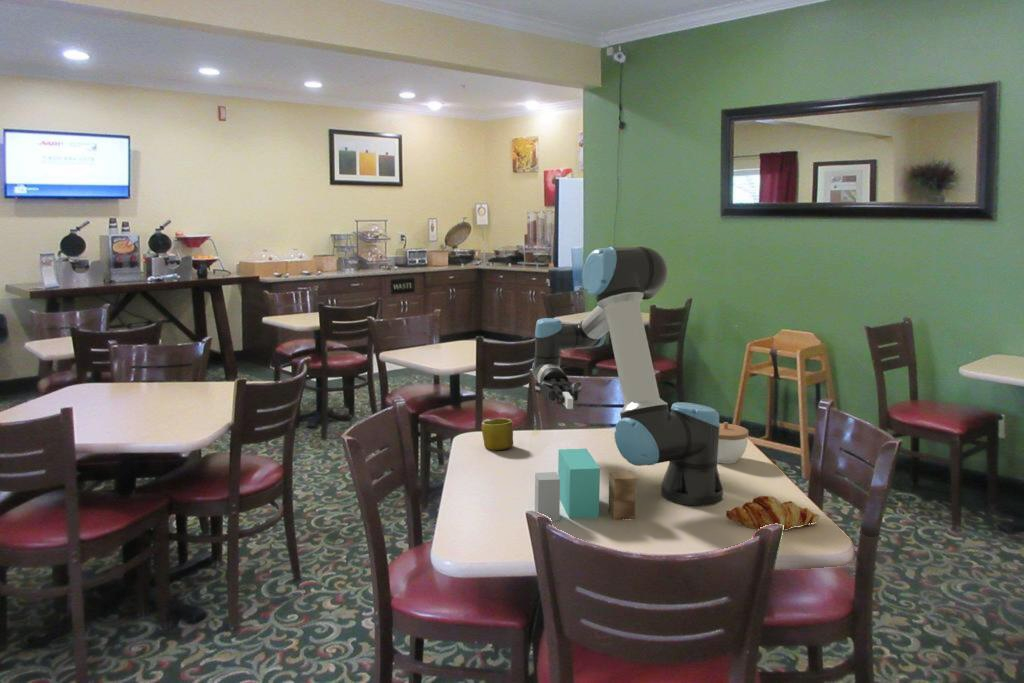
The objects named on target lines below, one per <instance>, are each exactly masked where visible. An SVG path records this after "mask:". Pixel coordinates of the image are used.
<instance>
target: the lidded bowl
mask: <svg viewBox="0 0 1024 683" xmlns="http://www.w3.org/2000/svg"><path fill="white" fill-rule="evenodd" d="M719 425H720V428H719V442H718V457H717V464H723V465H724V464H725V465H729V464H735V463H736V464H737V462H738V460H740V459H741V458H742V457H743V456H744V454H745V452H746V451H747V446H748V439H749V435H750V434H749V432H750V431H749V429H747V428H746V427H745V426H744V427H743V426H741V425H737V424H734V423H733V424H731V423H729V422H728V421H727V422H726V421H724V422H723V423H721V422H719Z"/></svg>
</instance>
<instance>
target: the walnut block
mask: <svg viewBox="0 0 1024 683" xmlns="http://www.w3.org/2000/svg"><path fill="white" fill-rule="evenodd" d="M608 473H609V477H608V479H609V480H608V507H607V508H608V511H607V512H608V514H609V515H610V517H611V519H612V521H628V519H634V520H635V517H636V488H637V477H636V476H635V475H634V473H632V471H631V470H620V471H619V470H618V471H609V472H608ZM623 519H624V520H623ZM625 519H627V520H625Z"/></svg>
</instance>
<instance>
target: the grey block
mask: <svg viewBox="0 0 1024 683" xmlns="http://www.w3.org/2000/svg"><path fill="white" fill-rule="evenodd" d="M534 473H535V474H534V512H535V511H536V512H539V513H541V514H544V515H546V516H548V517H549V518H551V520H552V521H551V522H559V521H560V512H561V510H560V508H561V506H560V505H561V501H560V478H559V476H558V472H556V471H552V472H551V471H548V472H545V471H544V472H534Z"/></svg>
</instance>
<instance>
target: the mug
mask: <svg viewBox="0 0 1024 683" xmlns="http://www.w3.org/2000/svg"><path fill="white" fill-rule="evenodd" d="M481 432H482V439H483V443H484V444H483V445H484V447H485V448H486V449H487V450H489V451H493V452H494V451H503V450H508V449H510V448H512V447H513V446H514V422H513V420H512V419H511V418H493V419H489V418H486V419H484V420H483V421H482V422H481Z"/></svg>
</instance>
